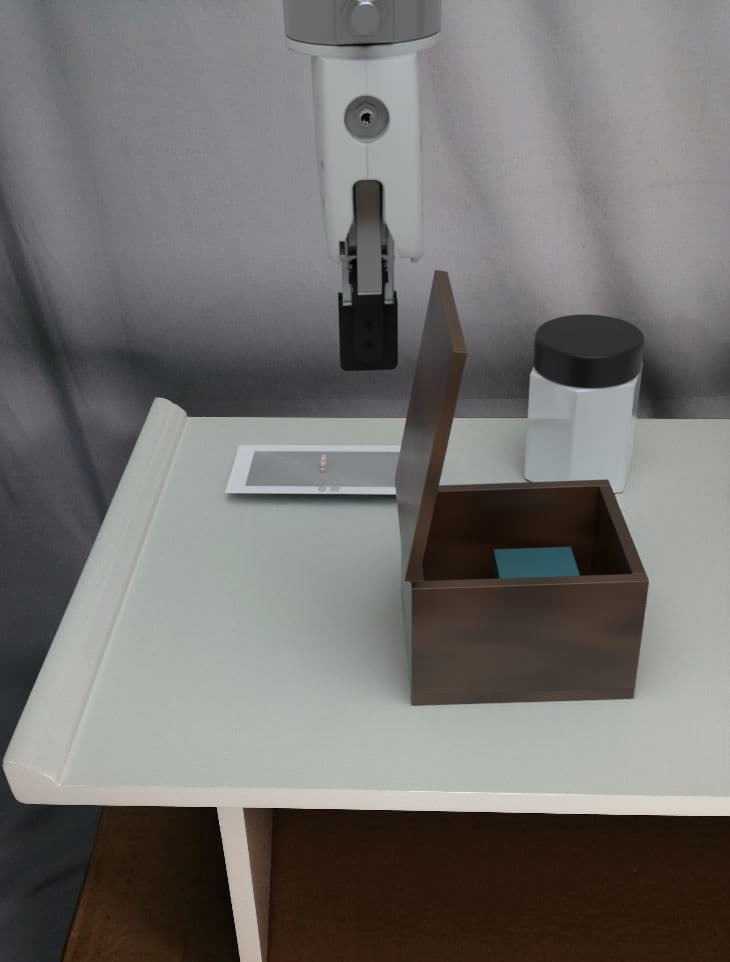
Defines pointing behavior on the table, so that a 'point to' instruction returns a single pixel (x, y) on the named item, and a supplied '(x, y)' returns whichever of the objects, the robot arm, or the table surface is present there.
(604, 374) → the jar
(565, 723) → the table surface
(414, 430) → the lid
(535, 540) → the chest
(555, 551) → the block
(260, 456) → the touchpad
